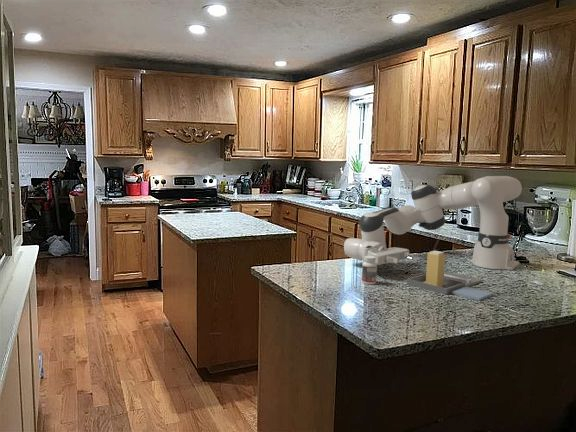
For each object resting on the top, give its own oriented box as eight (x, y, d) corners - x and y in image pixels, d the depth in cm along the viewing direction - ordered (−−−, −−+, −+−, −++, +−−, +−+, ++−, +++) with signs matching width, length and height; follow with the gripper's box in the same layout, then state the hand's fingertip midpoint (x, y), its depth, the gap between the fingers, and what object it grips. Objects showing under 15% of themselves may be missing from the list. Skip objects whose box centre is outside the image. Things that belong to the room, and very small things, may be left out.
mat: (465, 288, 171) (465, 286, 171) (493, 295, 164) (493, 292, 164) (451, 293, 164) (451, 291, 164) (479, 300, 157) (479, 298, 157)
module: (432, 283, 177) (434, 250, 175) (443, 286, 173) (445, 252, 172) (425, 285, 174) (427, 251, 172) (436, 288, 170) (438, 253, 169)
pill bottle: (360, 280, 178) (361, 255, 177) (373, 280, 179) (375, 255, 177) (363, 284, 173) (364, 258, 172) (378, 284, 173) (379, 258, 172)
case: (443, 273, 192) (444, 268, 192) (482, 281, 180) (482, 276, 180) (406, 284, 175) (406, 278, 175) (446, 294, 163) (446, 288, 163)
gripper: (391, 257, 199) (420, 263, 189) (360, 264, 186) (389, 271, 176) (392, 242, 199) (421, 248, 188) (360, 248, 185) (390, 254, 175)
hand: (405, 259), depth 182 cm, fingers open, 8 cm apart
